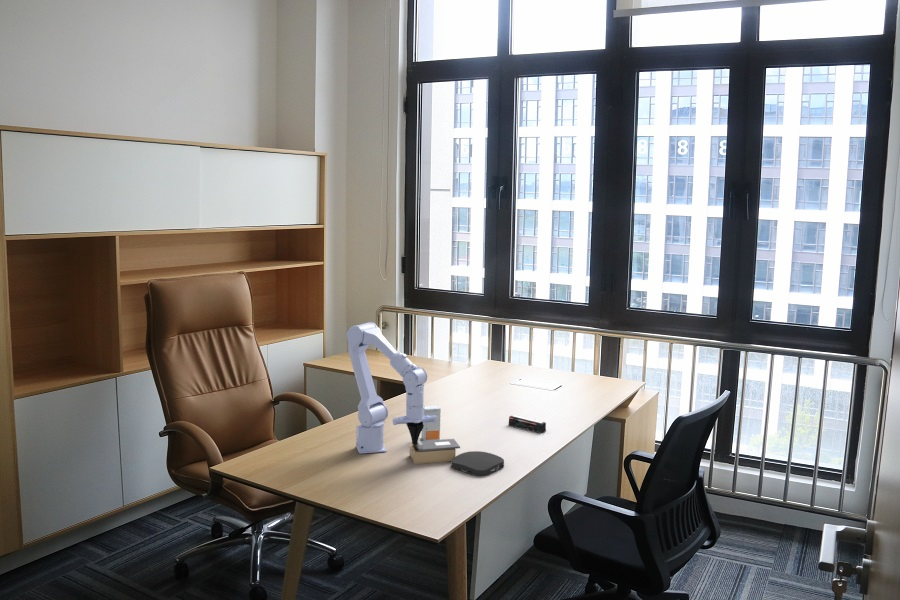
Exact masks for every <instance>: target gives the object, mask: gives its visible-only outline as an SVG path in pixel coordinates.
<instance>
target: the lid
mask: <svg viewBox="0 0 900 600" xmlns="http://www.w3.org/2000/svg"><path fill="white" fill-rule="evenodd" d="M415 446H416V447H417V449H418V451H430V450H443V449H461V446H460V445H459V444H458V442H457V441H456V440H455V439H454V438H446V439H445V438H444V439H440V440H429V441H424V440H420V437H419V438H418V442H417V445H415Z"/></svg>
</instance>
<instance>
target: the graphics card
mask: <svg viewBox="0 0 900 600" xmlns="http://www.w3.org/2000/svg"><path fill="white" fill-rule="evenodd" d="M508 426H512V427H516V428H520V429H523V430H527V431H530V432H535V433H538V434H539V433H540V434H543V433H545V432H547V428H546V427H547V422H545V421H542V420H537V419H535V418H534V419H533V418H529V417H526V416H521V415H517V414H512V415H510V416H508Z"/></svg>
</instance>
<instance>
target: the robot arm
mask: <svg viewBox="0 0 900 600" xmlns="http://www.w3.org/2000/svg"><path fill="white" fill-rule="evenodd" d="M345 334H346V339H347V341H348V345H347V350H348V354H349V359H350V362H351V365H352V369H353V375H354V376H355V381H356V384H357V388H358V393H359V395H360V401H359V402H358V405H357V410H358V414H357V418H358V421H359V423H360V424H357V425H356V427H355V429H356V431H355V433H356V435H355V436H356V437H355V438H356V439H355V447H356V449H357V452H358V455H359V454H360V455H361V454H372V453H375V454H376V453H385V452H387V448H386V447H385V442H384V437H385V436H384V435H385V433H384V431H385V426H384V425H385V423H386V421H385V420H386V419H388V417H389V410H388V407H387V406H386V404H385V402H384V399H383V398H382V397H381V396H379V395H378V394H377V390H376V387H375V384H374V379H373V377H372V376H373V375H372V373H371V369H370V365H369V362H368V357H367V353H366V350H367V349H368V347H369V346H374V347H375V348H376V349H377V350H378V351H380V352H381V353H382V354H384V356H386V357H387V358H388V359H389V364H390V366H391V367H392V368H393V369H394V370H395V372H396V373H398V375H399V376H401V378H402V383H403V386H404V387H405V391H406V395H405V397H406V400H405V401H406V403H405V404H406V405H405V406H406V407H405V408H406V409H405V411H406V412H405V415H403V416H398V417H393V418H392V424H393V426H397V425H406V427H407V429H408V430H409V431H408V432H409V434H410V437H411V444H413V445H417V442H418V438H419V439H420V435H421V434H422V429H423V427H424V425H423V423H425V422H437V417H436V415H423V406H424V401H425V400H424V397H425V396H424V395H425V393H424V391H425V390H424V389H425V388H424V387H425V385H424V384H426V382H427V380H428V374H427V372H426V370H425V369H424V368H423V367H420V366H417V365H416V364H415V363H413V362H412V361H411V359H410V358H408V355H407V354H406V353H404V352H398V351H397V350H396V349H395V348H394V346H392V344H391V343H390V342H389V341H388V340H387V338H386V337H385V336H384V334H383V333H382V330H381V328H380V327H378V326H377V324H376V323H375V322H373V321H367V322H365V323H361V324H357V325H352V326H350V328H348V330H347V332H346V333H345Z"/></svg>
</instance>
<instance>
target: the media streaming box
mask: <svg viewBox="0 0 900 600" xmlns="http://www.w3.org/2000/svg"><path fill="white" fill-rule="evenodd" d="M450 464H451V466H450V467H451V468H452V469H454V470H457V471H460V472H463V473H465V474H469V475H471V476H477V477H485V476H488V475H491V474H493V473H495V472H498V471H500V470H501V469H503V468H504V467H505V459H504V458H503V457H501V456H499V455H496V454H494V453H491V452H486V451H480V450H479V451H476V450H475V451H466V452H462V453H460V454H459V453H458V455H455V457H454V458H453V459H452V461H450Z"/></svg>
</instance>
